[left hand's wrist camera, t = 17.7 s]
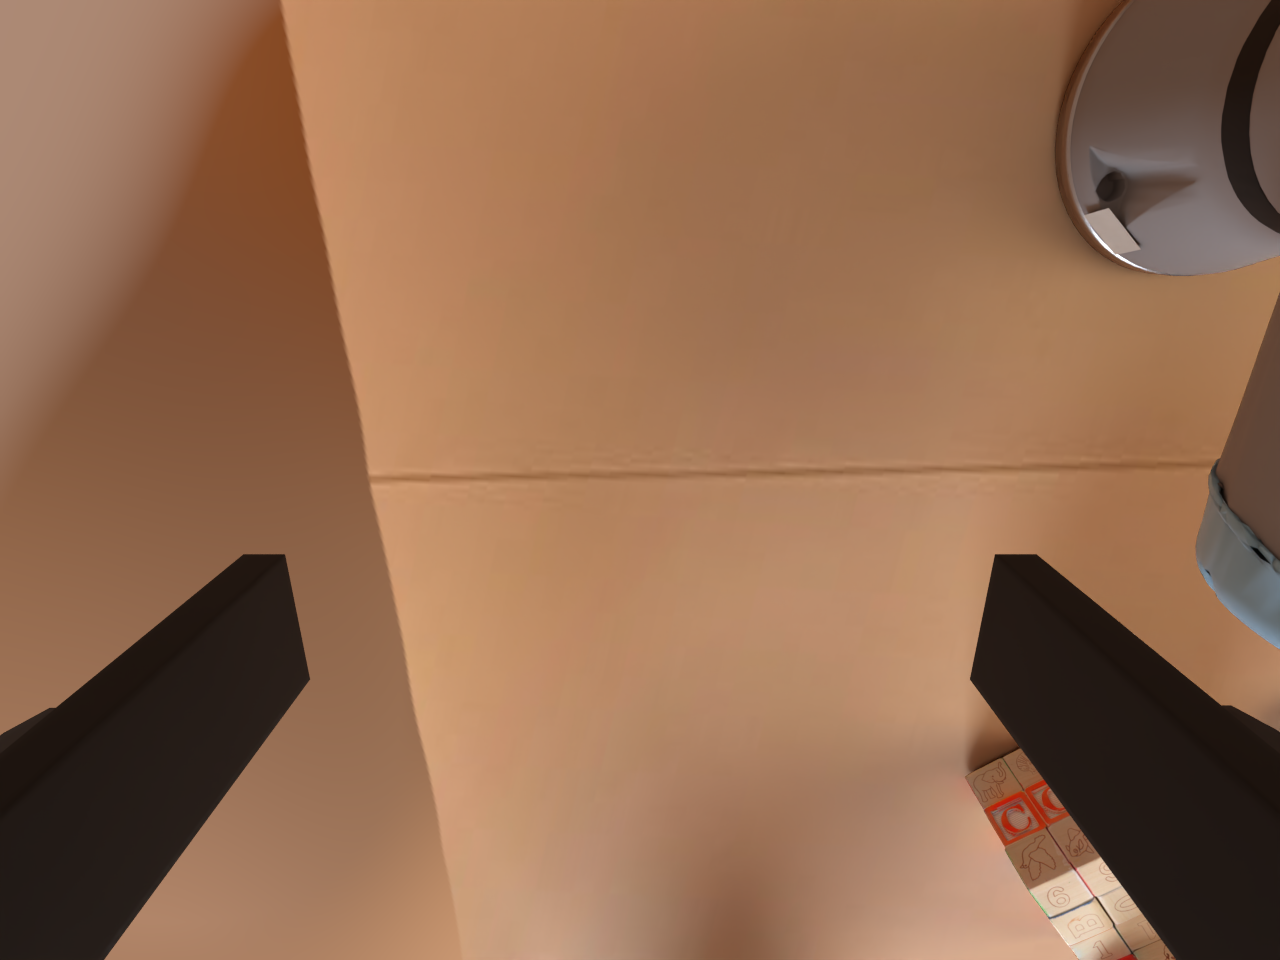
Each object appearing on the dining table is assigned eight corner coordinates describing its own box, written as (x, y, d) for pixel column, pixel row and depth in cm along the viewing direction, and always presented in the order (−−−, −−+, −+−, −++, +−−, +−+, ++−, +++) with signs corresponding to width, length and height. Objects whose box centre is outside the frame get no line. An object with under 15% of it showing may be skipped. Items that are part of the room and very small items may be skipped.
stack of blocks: (959, 774, 50) (1056, 938, 38) (1039, 734, 49) (1163, 891, 37) (1077, 940, 56) (1190, 1125, 44) (1150, 908, 55) (1287, 1090, 43)
